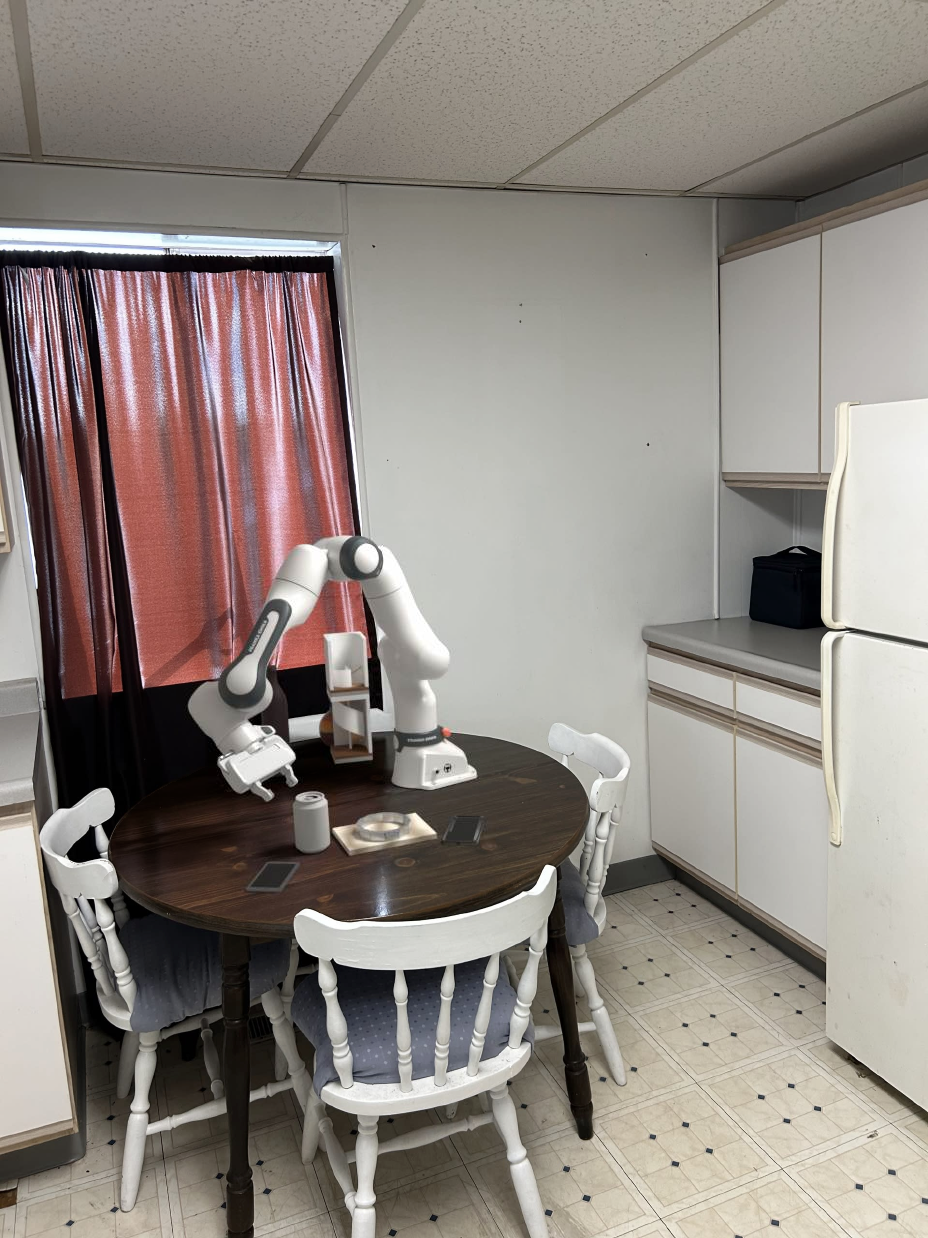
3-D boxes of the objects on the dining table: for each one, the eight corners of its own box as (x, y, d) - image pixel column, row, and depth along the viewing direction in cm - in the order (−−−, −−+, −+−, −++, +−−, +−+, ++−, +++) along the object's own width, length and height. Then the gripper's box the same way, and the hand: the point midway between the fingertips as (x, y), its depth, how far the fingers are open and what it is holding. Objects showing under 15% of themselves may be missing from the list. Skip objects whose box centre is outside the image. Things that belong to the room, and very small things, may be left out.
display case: (330, 752, 277) (323, 634, 271) (367, 748, 279) (360, 631, 273) (335, 763, 266) (327, 641, 260) (372, 759, 268) (366, 638, 262)
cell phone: (244, 894, 187) (244, 890, 187) (267, 864, 201) (267, 861, 201) (280, 895, 187) (280, 891, 186) (301, 865, 200) (301, 861, 200)
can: (336, 842, 210) (333, 791, 208) (320, 856, 203) (317, 803, 201) (306, 839, 213) (302, 788, 211) (289, 853, 206) (285, 800, 204)
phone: (485, 816, 221) (476, 841, 206) (485, 820, 221) (477, 846, 206) (452, 815, 222) (441, 841, 207) (452, 820, 222) (441, 845, 207)
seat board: (415, 817, 223) (415, 812, 223) (436, 838, 210) (436, 833, 210) (332, 833, 216) (332, 828, 215) (349, 855, 203) (349, 850, 203)
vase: (341, 750, 278) (337, 699, 275) (312, 746, 283) (308, 695, 281) (364, 740, 287) (361, 691, 284) (336, 736, 293) (333, 687, 290)
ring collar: (400, 817, 221) (400, 809, 220) (418, 835, 210) (417, 826, 209) (350, 826, 216) (350, 818, 216) (366, 845, 205) (365, 836, 205)
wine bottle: (297, 771, 261) (290, 664, 256) (279, 778, 255) (271, 669, 250) (278, 767, 264) (270, 662, 259) (260, 774, 258) (252, 667, 253)
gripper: (221, 750, 200) (263, 799, 198) (275, 724, 218) (315, 768, 216) (205, 768, 202) (247, 817, 200) (260, 741, 221) (299, 785, 219)
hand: (283, 791), depth 208 cm, fingers open, 8 cm apart
